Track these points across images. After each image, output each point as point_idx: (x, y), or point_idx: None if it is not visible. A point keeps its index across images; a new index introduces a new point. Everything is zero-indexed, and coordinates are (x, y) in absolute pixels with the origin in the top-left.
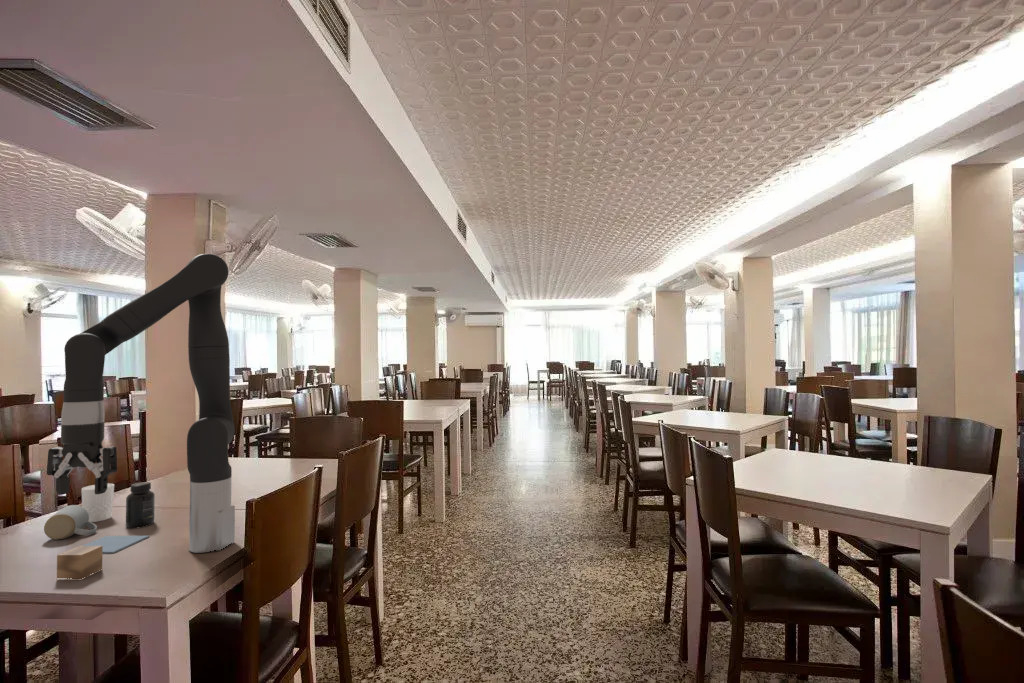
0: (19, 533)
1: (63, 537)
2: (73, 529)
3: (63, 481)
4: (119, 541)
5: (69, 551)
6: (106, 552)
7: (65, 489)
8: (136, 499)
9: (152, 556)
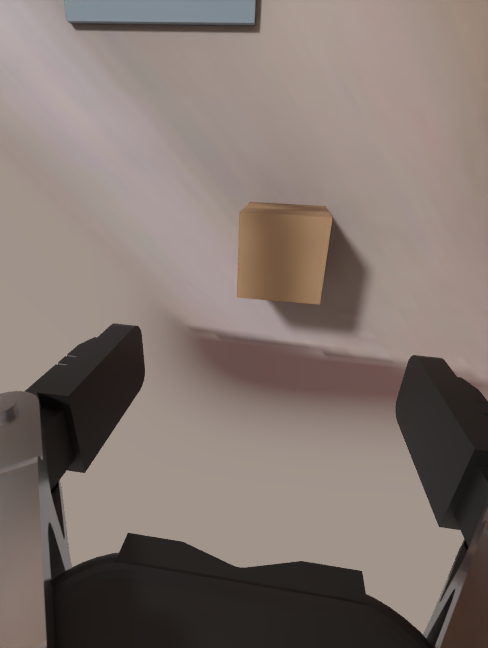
0: None
1: None
2: None
3: (96, 424)
4: None
5: (249, 265)
6: (223, 22)
7: (129, 365)
8: None
9: (440, 73)
